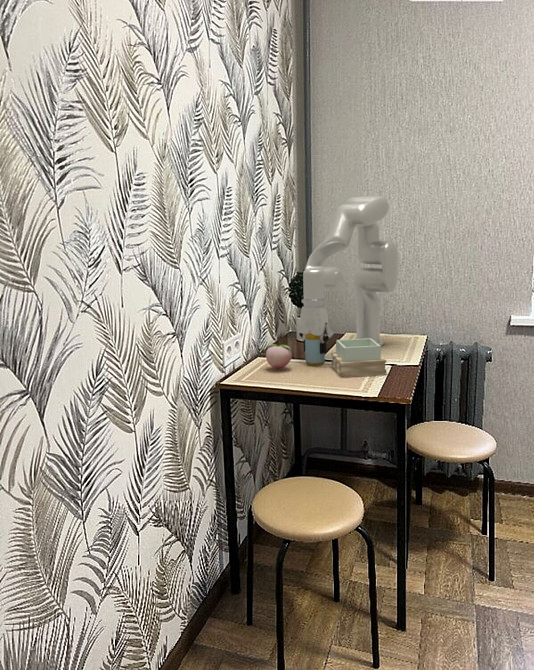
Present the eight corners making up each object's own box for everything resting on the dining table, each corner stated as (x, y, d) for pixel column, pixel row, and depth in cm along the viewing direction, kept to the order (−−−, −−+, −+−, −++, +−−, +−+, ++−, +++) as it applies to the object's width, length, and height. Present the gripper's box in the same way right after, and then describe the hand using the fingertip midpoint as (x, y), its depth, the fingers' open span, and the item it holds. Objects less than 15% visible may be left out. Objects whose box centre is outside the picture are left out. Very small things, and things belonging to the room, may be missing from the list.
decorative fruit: (263, 372, 216) (262, 344, 214) (267, 366, 224) (266, 339, 222) (290, 372, 215) (289, 344, 213) (293, 366, 223) (292, 339, 221)
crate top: (336, 353, 220) (336, 340, 219) (370, 351, 221) (370, 338, 220) (344, 361, 207) (344, 347, 206) (380, 359, 209) (380, 345, 208)
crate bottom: (331, 366, 222) (331, 352, 221) (374, 363, 223) (374, 350, 222) (340, 377, 207) (340, 363, 206) (386, 374, 208) (386, 360, 207)
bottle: (303, 365, 223) (302, 325, 220) (308, 361, 230) (307, 321, 227) (322, 366, 221) (321, 325, 218) (326, 362, 228) (326, 322, 225)
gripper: (288, 303, 224) (289, 351, 227) (328, 306, 213) (329, 357, 216) (300, 300, 229) (301, 347, 233) (340, 303, 218) (340, 353, 222)
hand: (314, 351), depth 225 cm, fingers closed on bottle, 6 cm apart
